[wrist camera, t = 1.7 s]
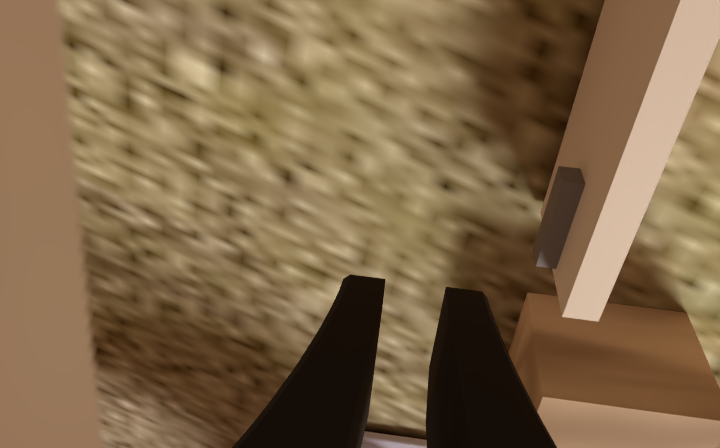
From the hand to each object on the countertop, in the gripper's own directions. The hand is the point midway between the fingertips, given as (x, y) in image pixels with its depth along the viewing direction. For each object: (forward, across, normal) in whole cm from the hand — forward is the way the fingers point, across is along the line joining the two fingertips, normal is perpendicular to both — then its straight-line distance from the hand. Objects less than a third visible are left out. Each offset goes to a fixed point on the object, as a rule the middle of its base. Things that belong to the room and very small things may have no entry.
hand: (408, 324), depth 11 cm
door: (+10, -5, -1) cm, 11 cm away
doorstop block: (+10, -8, +10) cm, 16 cm away
